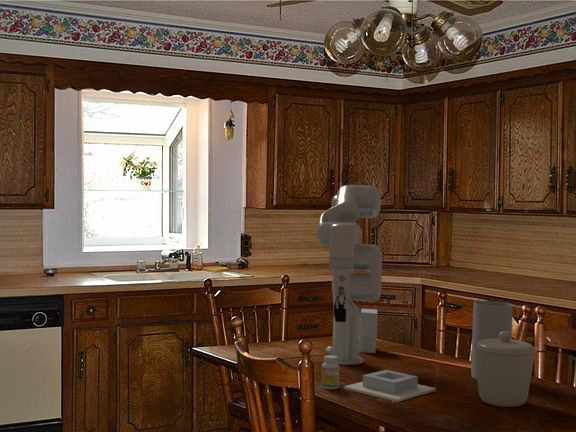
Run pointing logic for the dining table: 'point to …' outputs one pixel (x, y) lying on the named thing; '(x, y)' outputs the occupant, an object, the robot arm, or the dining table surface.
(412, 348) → the dining table surface
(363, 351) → the skincare box
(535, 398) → the dining table surface
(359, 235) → the robot arm
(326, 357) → the supplement bottle
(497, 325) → the cylinder vase
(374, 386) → the socket holder
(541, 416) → the dining table surface
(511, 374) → the canister
